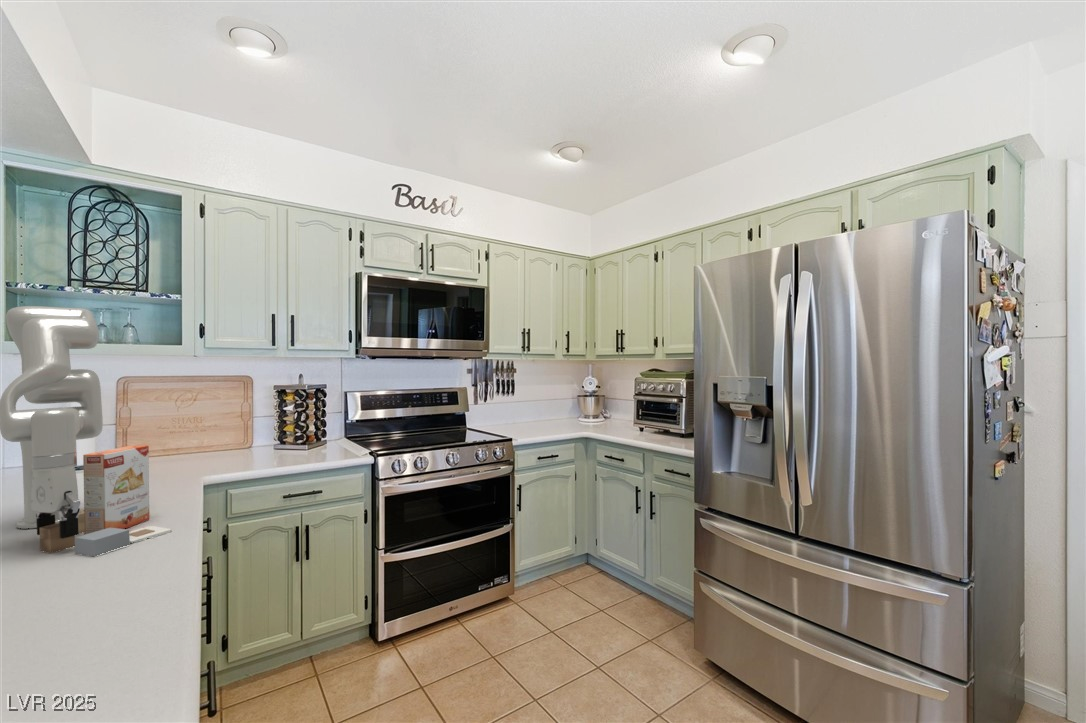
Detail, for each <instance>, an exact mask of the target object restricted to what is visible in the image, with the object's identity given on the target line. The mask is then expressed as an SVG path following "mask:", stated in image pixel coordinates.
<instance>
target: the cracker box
mask: <svg viewBox="0 0 1086 723" xmlns="http://www.w3.org/2000/svg"><path fill="white" fill-rule="evenodd" d="M82 456H83V457H82V459H83V460H82V461H83V506H84V507H83V510H84V525H85V532H84V535H85V534H89V533H92V532H96V531H100V530H103V529H107V528H118V529H125V528H126V529H128V528H131V527H133V526H136V525H138V524H141V523H144V522H145V521H146V522H147V521H149V520H150V519H151V518H150V517H151V516H150V515H151V514H150V465H149V464H150V460H149V459H150V454H149V445H145V444H144V445H143V444H142V445H139V444H138V445H126V446H123V447H121V446H120V447H116V448H111V449H107V450H106V449H105V450H100V451H95V452H90V453H85V454H83V455H82Z"/></svg>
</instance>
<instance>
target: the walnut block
mask: <svg viewBox="0 0 1086 723" xmlns="http://www.w3.org/2000/svg"><path fill="white" fill-rule="evenodd" d="M75 537H76V535H75V536H71V537H67V538H63V539H62V538H60V527H59V523H56V524H52V525H48V526H44V527H40V535H39V550H40V552H43V551H44V552H43V553H47V552H48V554H53V553H56V551H57V552H60V551H59V550H61V551H64V550H67V549H66V548H68V549H71V548H74V547H73V546H75ZM70 547H71V548H70ZM63 549H64V550H63Z"/></svg>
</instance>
